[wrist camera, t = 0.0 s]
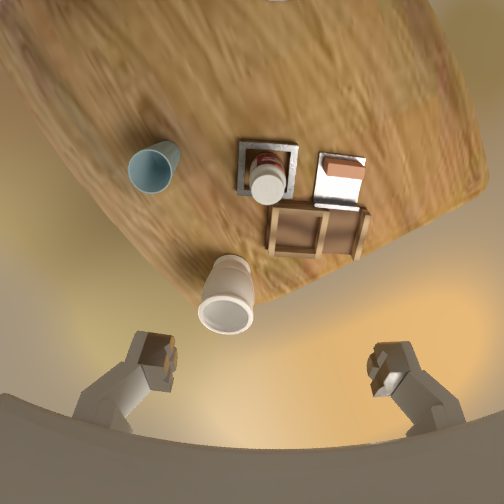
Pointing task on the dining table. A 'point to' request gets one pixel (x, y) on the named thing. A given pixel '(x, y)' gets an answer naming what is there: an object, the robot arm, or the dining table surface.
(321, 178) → the grey metal lipped plate
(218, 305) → the jar
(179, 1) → the dining table surface
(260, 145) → the socket collar
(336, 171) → the pink rectangular block
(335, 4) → the dining table surface
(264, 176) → the pill bottle
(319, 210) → the rack
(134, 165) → the cup
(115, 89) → the dining table surface
